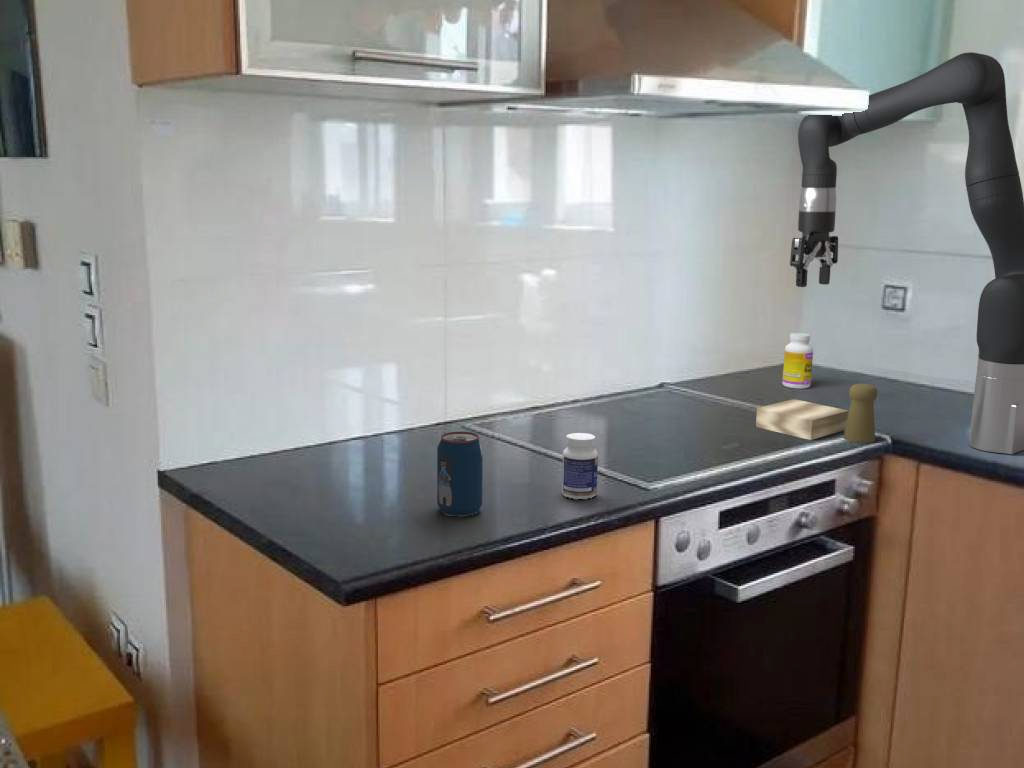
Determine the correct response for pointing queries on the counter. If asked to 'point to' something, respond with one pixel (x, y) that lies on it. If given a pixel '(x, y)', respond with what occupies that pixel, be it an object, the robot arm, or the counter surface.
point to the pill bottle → (580, 467)
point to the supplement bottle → (798, 362)
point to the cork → (861, 414)
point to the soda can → (459, 473)
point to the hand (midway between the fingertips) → (812, 285)
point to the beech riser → (801, 419)
